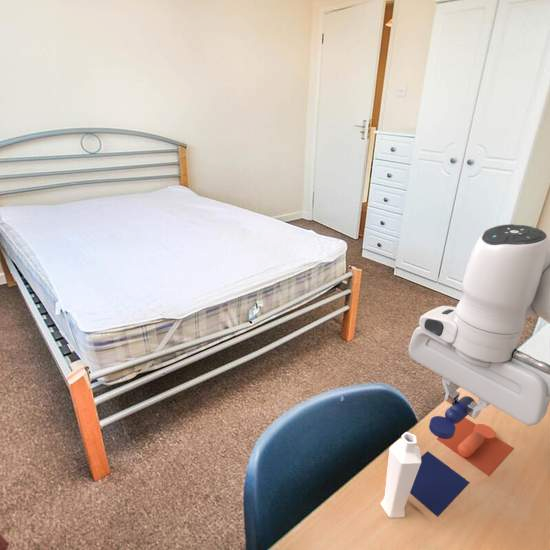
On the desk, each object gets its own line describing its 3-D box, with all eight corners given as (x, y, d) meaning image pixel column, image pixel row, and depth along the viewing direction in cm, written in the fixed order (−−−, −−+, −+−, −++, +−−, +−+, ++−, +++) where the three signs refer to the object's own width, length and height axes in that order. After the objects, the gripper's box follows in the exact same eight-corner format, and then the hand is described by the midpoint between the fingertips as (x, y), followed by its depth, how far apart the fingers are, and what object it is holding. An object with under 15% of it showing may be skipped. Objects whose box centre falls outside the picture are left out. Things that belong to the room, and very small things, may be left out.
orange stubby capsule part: (469, 464, 68) (472, 455, 67) (450, 451, 70) (453, 441, 69) (497, 436, 74) (500, 427, 73) (478, 425, 76) (481, 416, 76)
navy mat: (427, 453, 71) (427, 450, 70) (469, 484, 65) (469, 482, 65) (394, 482, 65) (394, 479, 65) (436, 519, 59) (437, 516, 59)
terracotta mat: (462, 418, 79) (463, 416, 79) (513, 450, 72) (514, 448, 72) (435, 441, 73) (436, 438, 73) (488, 478, 66) (489, 476, 66)
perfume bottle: (415, 515, 60) (434, 445, 54) (392, 525, 58) (408, 454, 52) (396, 489, 64) (412, 422, 58) (374, 498, 62) (388, 429, 56)
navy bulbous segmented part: (459, 400, 65) (462, 389, 64) (480, 412, 63) (483, 401, 62) (424, 428, 59) (427, 416, 58) (446, 443, 57) (449, 431, 56)
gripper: (573, 363, 50) (540, 440, 56) (432, 302, 65) (417, 368, 70) (555, 381, 47) (522, 462, 52) (410, 312, 61) (396, 381, 67)
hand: (461, 407), depth 61 cm, fingers closed on navy bulbous segmented part, 2 cm apart
